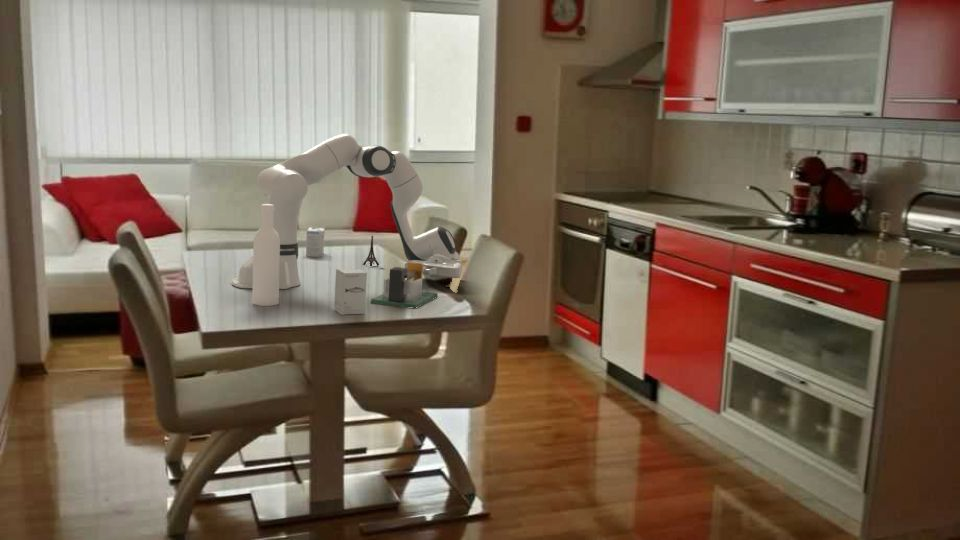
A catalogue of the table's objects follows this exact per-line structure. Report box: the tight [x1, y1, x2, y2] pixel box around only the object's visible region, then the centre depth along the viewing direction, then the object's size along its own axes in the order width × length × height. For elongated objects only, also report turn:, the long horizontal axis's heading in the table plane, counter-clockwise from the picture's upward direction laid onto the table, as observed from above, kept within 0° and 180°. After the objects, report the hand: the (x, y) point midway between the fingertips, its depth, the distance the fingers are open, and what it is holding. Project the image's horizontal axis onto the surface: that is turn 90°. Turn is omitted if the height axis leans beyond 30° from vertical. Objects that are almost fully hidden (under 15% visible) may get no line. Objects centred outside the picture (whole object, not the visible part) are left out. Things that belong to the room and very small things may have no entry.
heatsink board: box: [370, 266, 439, 309], centre depth 278 cm, size 21×15×11 cm
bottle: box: [251, 203, 280, 307], centre depth 258 cm, size 8×8×30 cm
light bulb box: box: [305, 226, 325, 258], centre depth 357 cm, size 11×7×11 cm, turn 6°
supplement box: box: [333, 268, 368, 316], centre depth 255 cm, size 7×7×13 cm
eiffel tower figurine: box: [361, 235, 380, 266], centre depth 339 cm, size 15×10×13 cm
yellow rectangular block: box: [404, 262, 424, 281], centre depth 280 cm, size 11×5×8 cm, turn 164°
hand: (426, 271), depth 297 cm, fingers closed
